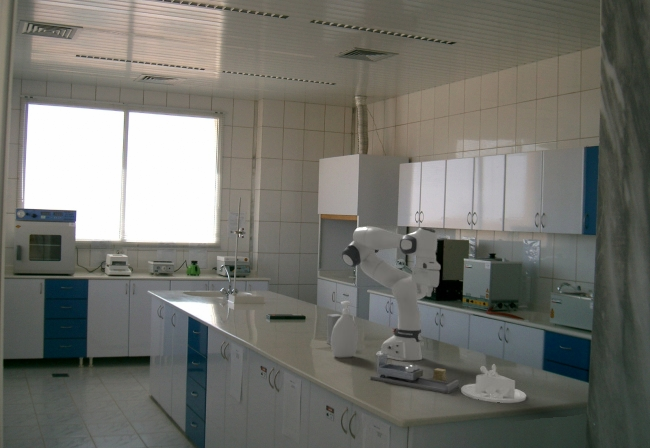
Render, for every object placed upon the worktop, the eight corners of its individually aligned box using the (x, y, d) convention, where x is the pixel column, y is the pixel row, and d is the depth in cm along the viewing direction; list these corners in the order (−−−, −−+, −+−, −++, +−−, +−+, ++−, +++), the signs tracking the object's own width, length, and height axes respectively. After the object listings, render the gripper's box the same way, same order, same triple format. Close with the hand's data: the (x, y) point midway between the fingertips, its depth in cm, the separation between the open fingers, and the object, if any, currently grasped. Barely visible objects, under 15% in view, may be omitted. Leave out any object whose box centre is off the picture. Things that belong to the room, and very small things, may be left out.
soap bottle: (351, 354, 325) (354, 299, 324) (360, 357, 317) (363, 301, 317) (325, 355, 318) (328, 299, 318) (333, 359, 311) (336, 301, 311)
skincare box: (343, 346, 344) (345, 315, 344) (331, 346, 341) (332, 315, 341) (337, 343, 352) (339, 313, 352) (325, 343, 349) (326, 313, 349)
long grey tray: (375, 377, 274) (376, 356, 274) (385, 373, 283) (386, 352, 283) (412, 384, 266) (414, 362, 266) (422, 380, 274) (423, 358, 274)
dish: (448, 392, 260) (450, 364, 260) (483, 383, 278) (484, 357, 278) (504, 407, 243) (505, 376, 243) (537, 397, 260) (538, 368, 260)
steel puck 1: (403, 374, 269) (404, 367, 269) (406, 373, 272) (407, 366, 272) (411, 376, 267) (411, 368, 267) (414, 374, 270) (414, 367, 270)
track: (370, 379, 274) (370, 372, 274) (383, 374, 285) (383, 367, 285) (448, 393, 257) (448, 386, 257) (458, 387, 267) (459, 380, 267)
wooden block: (433, 380, 278) (433, 369, 278) (436, 378, 282) (437, 368, 282) (442, 382, 276) (442, 371, 276) (445, 380, 280) (446, 369, 280)
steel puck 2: (407, 373, 273) (408, 365, 273) (411, 371, 276) (411, 364, 276) (415, 374, 271) (415, 367, 271) (418, 372, 274) (419, 365, 274)
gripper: (409, 261, 302) (407, 292, 302) (429, 265, 283) (427, 298, 283) (421, 262, 304) (419, 292, 304) (442, 266, 284) (440, 298, 285)
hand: (423, 295), depth 293 cm, fingers open, 8 cm apart
